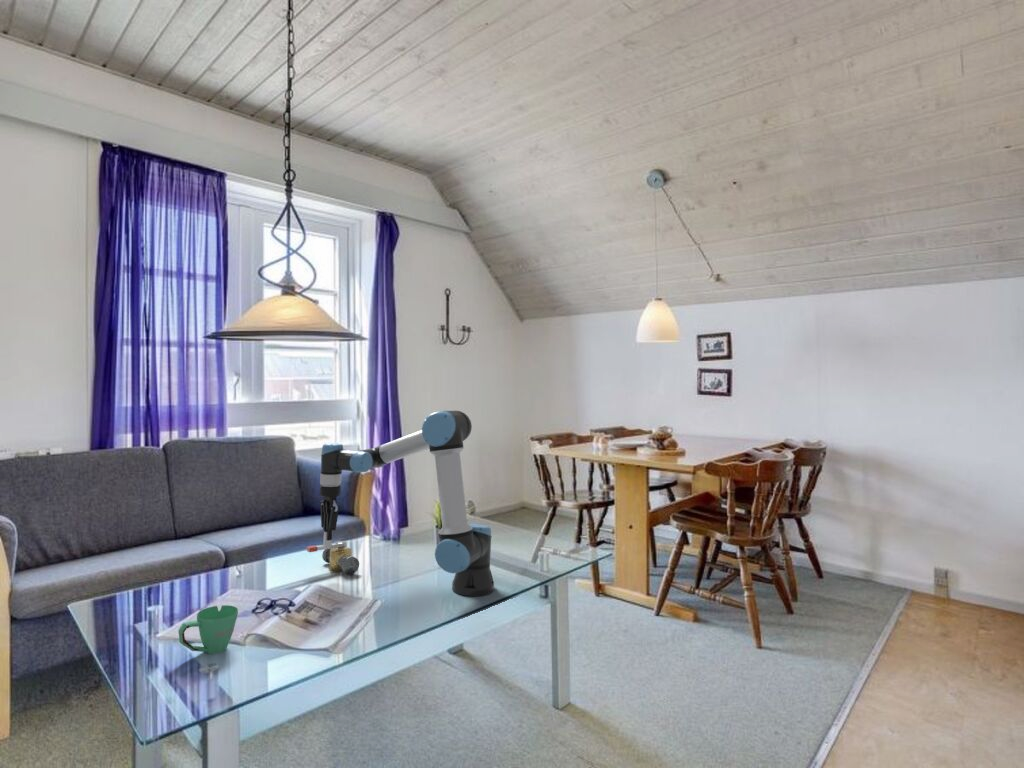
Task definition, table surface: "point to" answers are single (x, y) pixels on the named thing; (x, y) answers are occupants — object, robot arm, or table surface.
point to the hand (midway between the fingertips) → (327, 548)
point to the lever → (320, 547)
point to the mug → (212, 628)
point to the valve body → (341, 560)
